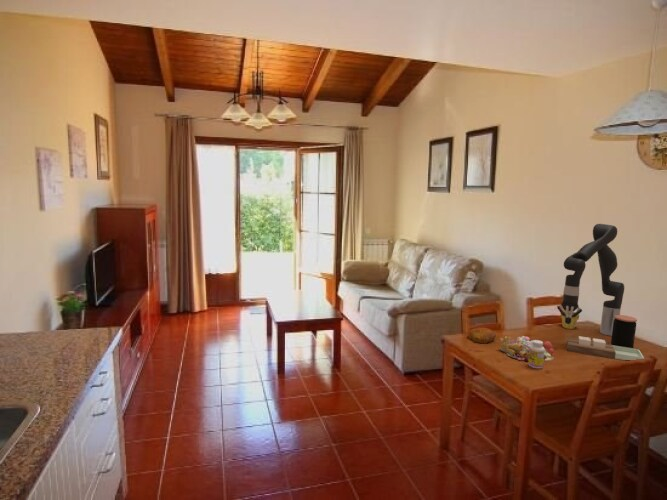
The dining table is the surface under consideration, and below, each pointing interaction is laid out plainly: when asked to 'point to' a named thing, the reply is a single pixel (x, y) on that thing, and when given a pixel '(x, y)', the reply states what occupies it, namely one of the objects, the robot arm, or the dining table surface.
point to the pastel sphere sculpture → (524, 348)
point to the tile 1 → (584, 341)
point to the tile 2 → (599, 343)
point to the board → (590, 349)
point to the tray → (627, 353)
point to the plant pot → (573, 321)
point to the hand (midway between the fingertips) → (567, 323)
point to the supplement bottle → (536, 354)
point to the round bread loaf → (481, 335)
